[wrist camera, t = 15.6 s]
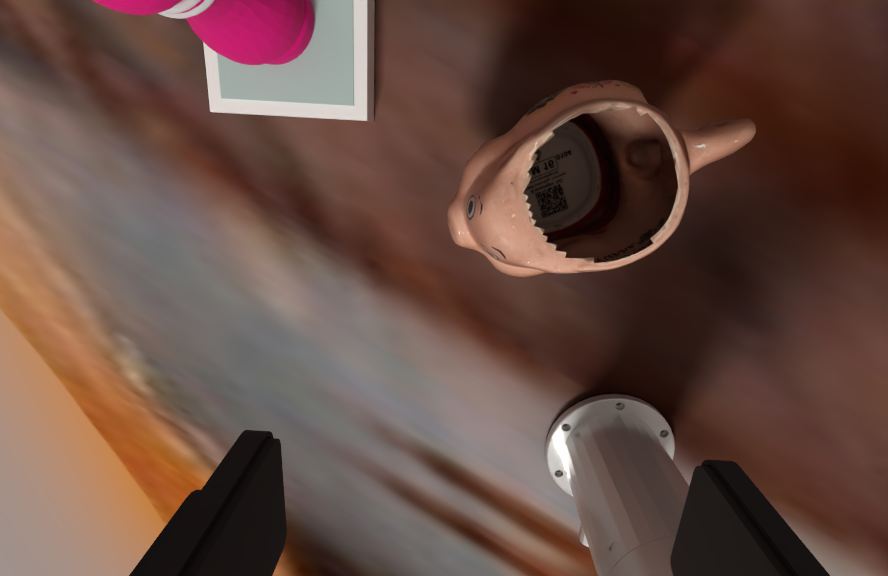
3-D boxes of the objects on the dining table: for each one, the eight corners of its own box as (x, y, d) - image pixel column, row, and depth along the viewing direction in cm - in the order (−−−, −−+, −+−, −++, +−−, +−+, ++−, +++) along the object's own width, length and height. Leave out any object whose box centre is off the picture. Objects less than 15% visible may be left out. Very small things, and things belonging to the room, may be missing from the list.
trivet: (373, 121, 39) (366, 120, 36) (228, 113, 39) (209, 111, 36) (374, -51, 35) (366, -68, 32) (213, -60, 35) (190, -77, 32)
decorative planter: (657, 37, 36) (770, -14, 23) (703, 183, 40) (825, 211, 26) (424, 156, 40) (407, 170, 26) (485, 281, 43) (497, 349, 30)
